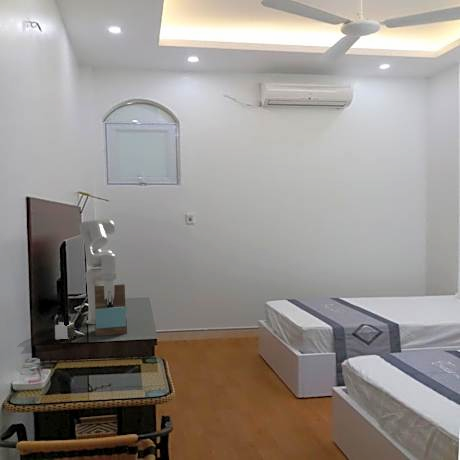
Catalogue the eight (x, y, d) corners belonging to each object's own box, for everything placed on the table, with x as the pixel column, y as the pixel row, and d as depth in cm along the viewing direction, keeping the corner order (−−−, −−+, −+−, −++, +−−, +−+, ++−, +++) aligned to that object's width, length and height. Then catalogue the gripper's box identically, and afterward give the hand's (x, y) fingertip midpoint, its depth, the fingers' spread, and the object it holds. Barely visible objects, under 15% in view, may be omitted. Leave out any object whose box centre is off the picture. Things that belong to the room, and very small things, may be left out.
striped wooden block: (96, 330, 271) (94, 286, 270) (126, 327, 275) (124, 284, 274) (95, 336, 256) (93, 289, 256) (127, 333, 260) (125, 287, 260)
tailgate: (95, 328, 256) (95, 308, 256) (126, 325, 259) (125, 306, 259) (95, 328, 255) (95, 309, 255) (126, 326, 258) (125, 306, 258)
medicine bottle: (68, 339, 251) (67, 316, 250) (55, 339, 252) (54, 316, 252) (75, 336, 258) (74, 313, 257) (62, 336, 259) (61, 313, 259)
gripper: (101, 276, 267) (103, 310, 267) (101, 279, 252) (102, 315, 253) (116, 275, 269) (117, 309, 269) (116, 278, 254) (118, 314, 255)
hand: (110, 312), depth 261 cm, fingers closed
